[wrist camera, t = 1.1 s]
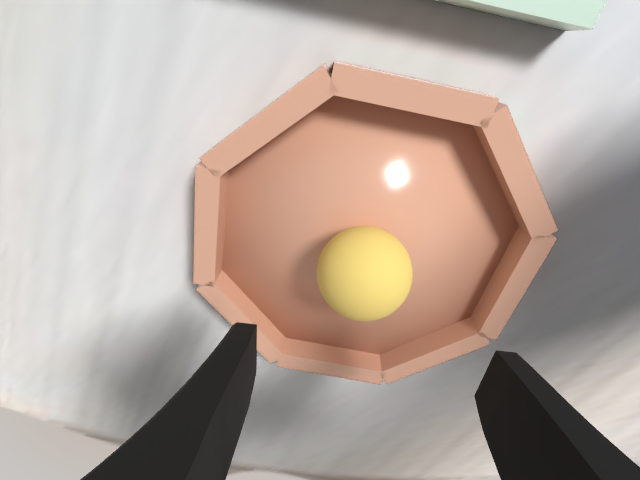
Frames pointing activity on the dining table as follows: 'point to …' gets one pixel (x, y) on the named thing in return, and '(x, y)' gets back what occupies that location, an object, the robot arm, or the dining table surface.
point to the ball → (364, 273)
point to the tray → (541, 11)
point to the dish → (370, 219)
